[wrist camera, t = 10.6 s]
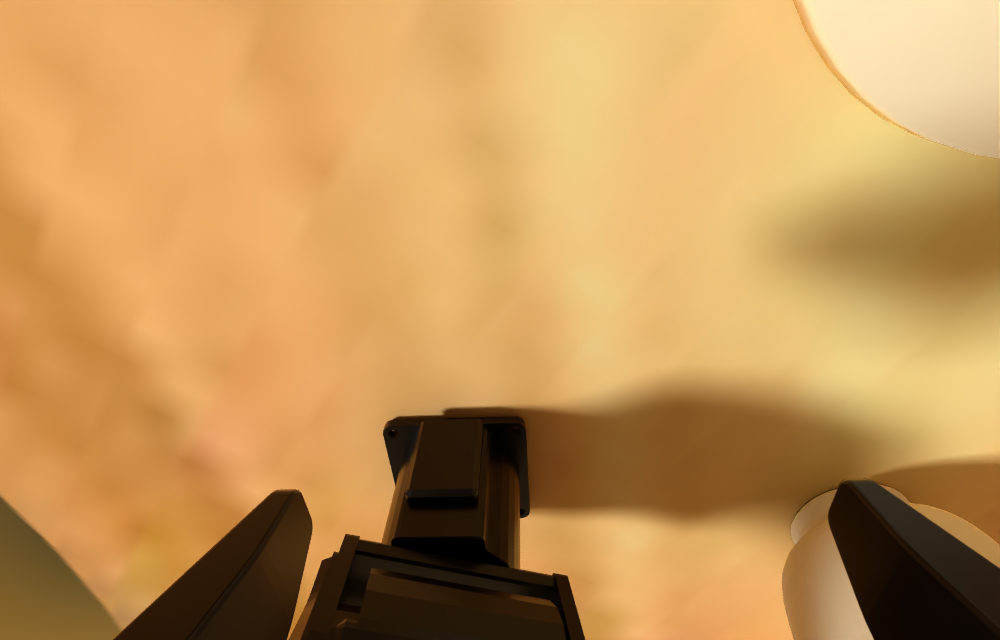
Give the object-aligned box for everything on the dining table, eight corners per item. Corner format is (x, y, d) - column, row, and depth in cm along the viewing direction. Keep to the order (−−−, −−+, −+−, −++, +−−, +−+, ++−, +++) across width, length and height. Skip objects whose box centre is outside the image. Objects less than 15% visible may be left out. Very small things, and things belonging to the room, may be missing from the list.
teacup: (747, 628, 32) (829, 853, 24) (710, 469, 25) (809, 709, 17) (964, 594, 30) (1142, 831, 21) (993, 407, 23) (1277, 652, 14)
